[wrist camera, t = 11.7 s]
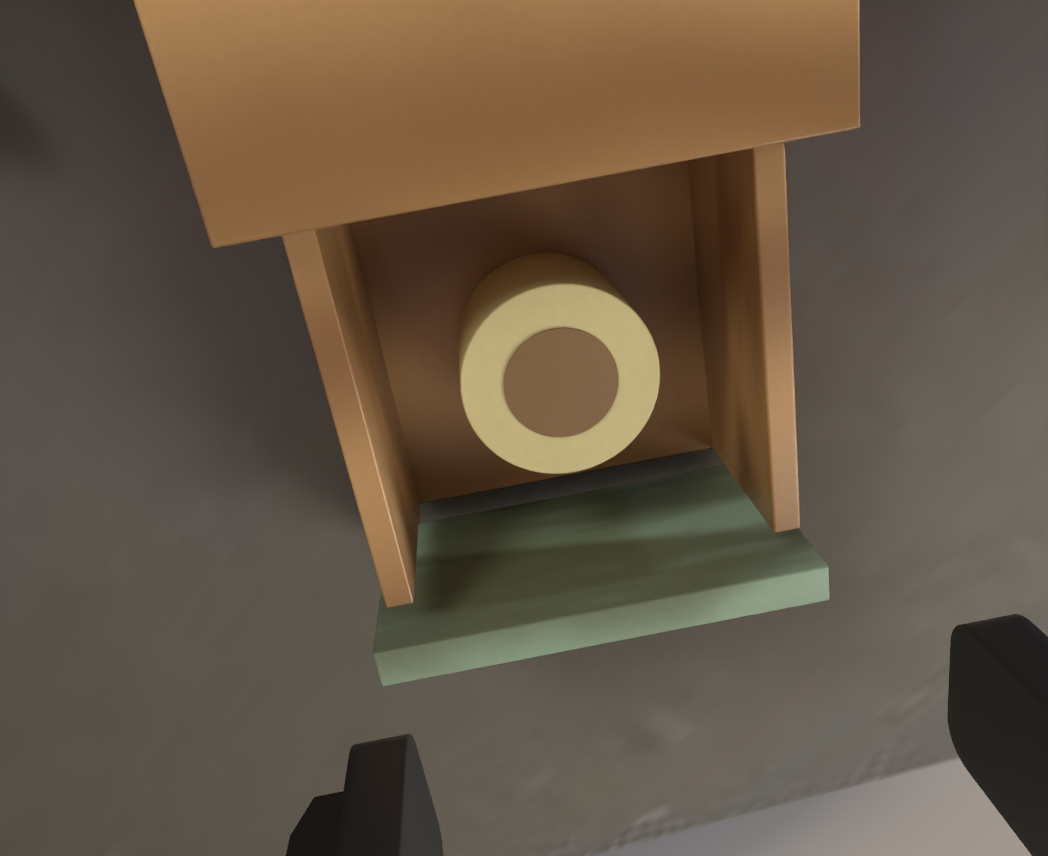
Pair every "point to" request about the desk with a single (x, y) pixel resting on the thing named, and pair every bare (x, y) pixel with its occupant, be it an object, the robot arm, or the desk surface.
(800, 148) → the desk surface
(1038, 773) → the robot arm
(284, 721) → the desk surface
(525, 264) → the tape roll
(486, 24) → the cabinet
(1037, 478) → the desk surface
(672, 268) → the drawer
